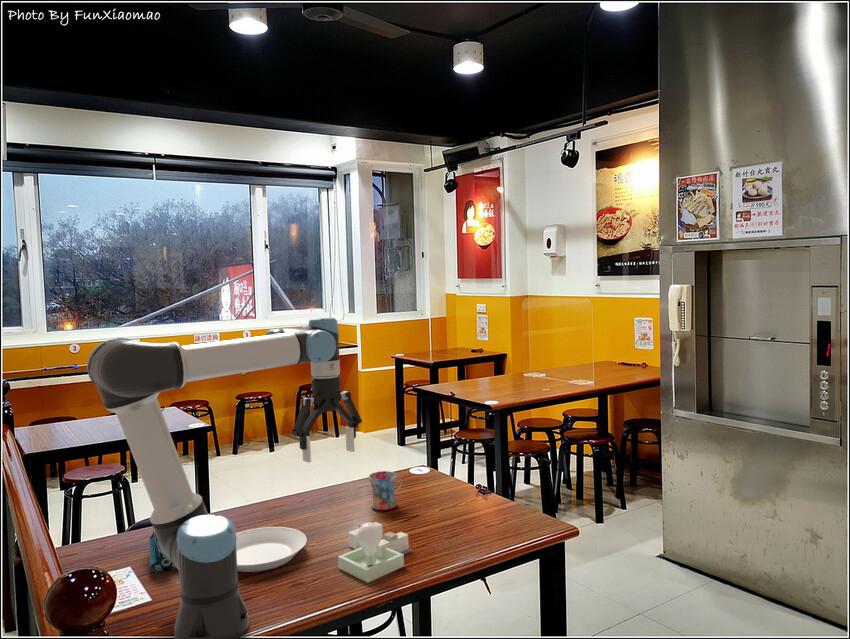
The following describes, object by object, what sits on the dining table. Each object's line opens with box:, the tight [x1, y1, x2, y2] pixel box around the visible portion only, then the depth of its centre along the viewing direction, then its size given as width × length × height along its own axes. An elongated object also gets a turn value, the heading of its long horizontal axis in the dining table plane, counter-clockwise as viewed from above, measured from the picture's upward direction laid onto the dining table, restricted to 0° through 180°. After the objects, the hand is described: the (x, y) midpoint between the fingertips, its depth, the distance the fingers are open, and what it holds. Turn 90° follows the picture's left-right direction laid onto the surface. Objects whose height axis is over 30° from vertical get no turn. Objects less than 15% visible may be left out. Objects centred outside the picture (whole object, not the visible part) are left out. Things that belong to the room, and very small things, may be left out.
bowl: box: [235, 526, 308, 573], centre depth 172 cm, size 25×25×4 cm
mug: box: [367, 470, 405, 511], centre depth 207 cm, size 12×9×11 cm
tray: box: [337, 547, 405, 584], centre depth 162 cm, size 12×12×3 cm
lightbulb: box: [357, 521, 382, 566], centre depth 162 cm, size 6×6×11 cm
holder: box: [345, 521, 413, 559], centre depth 174 cm, size 10×17×6 cm, turn 44°
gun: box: [149, 531, 178, 574], centre depth 176 cm, size 8×26×15 cm, turn 23°
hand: (329, 456), depth 167 cm, fingers open, 13 cm apart
